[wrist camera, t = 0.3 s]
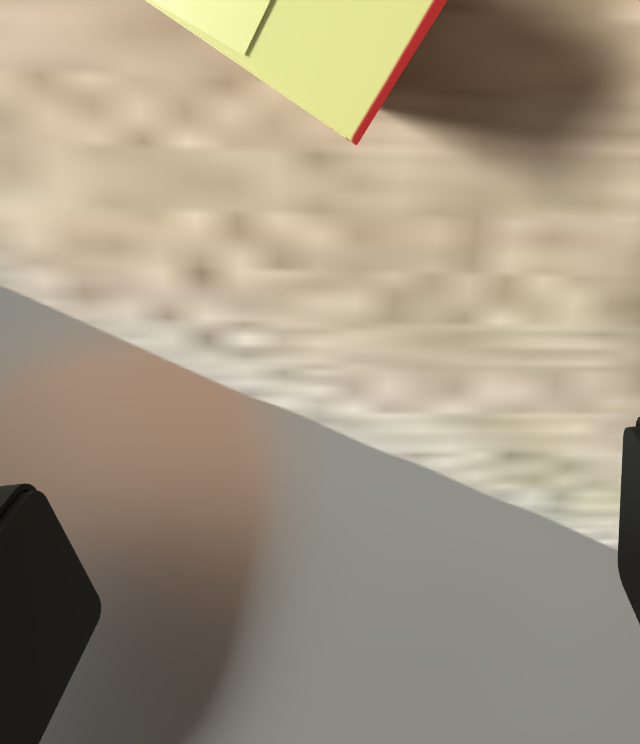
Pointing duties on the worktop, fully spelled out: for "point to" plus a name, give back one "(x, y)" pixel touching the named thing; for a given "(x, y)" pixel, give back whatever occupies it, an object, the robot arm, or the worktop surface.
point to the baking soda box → (316, 48)
